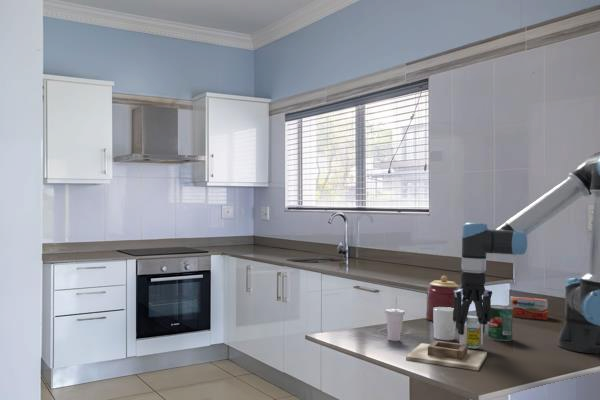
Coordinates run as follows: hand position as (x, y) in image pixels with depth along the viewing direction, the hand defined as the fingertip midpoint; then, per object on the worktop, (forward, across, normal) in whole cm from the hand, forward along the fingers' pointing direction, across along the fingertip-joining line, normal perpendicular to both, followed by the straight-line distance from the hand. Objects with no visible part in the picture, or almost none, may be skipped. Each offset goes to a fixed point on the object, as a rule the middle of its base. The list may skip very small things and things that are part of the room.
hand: (470, 344), depth 191 cm
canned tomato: (+2, -20, -11) cm, 23 cm away
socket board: (+1, +15, +9) cm, 18 cm away
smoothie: (+1, +19, -15) cm, 24 cm away
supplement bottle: (+1, 0, 0) cm, 1 cm away
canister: (+1, -20, -44) cm, 48 cm away
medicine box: (+2, -64, -46) cm, 79 cm away
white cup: (+1, 0, -14) cm, 14 cm away
